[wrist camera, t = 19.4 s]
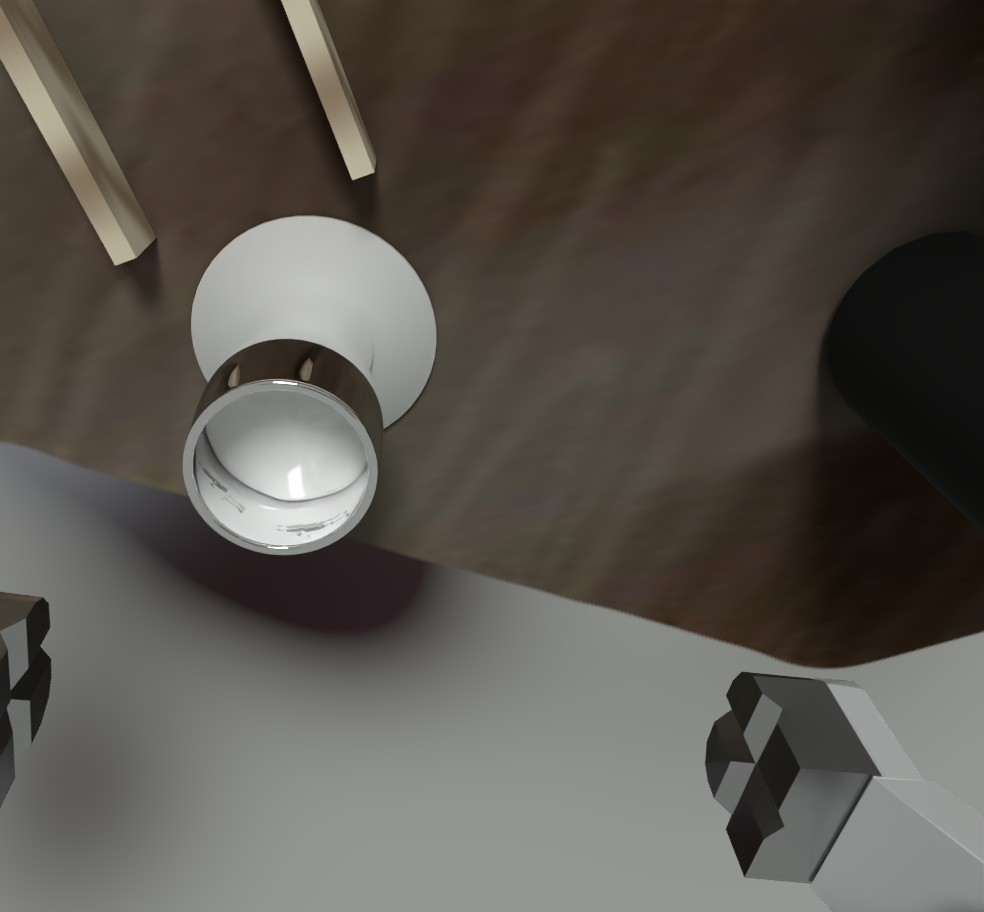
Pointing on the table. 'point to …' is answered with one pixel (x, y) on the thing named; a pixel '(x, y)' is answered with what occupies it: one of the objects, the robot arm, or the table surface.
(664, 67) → the table surface
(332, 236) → the grey coaster
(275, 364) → the heart stem goblet
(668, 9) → the table surface
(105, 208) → the maple lane
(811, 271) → the table surface
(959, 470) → the coffee jar
